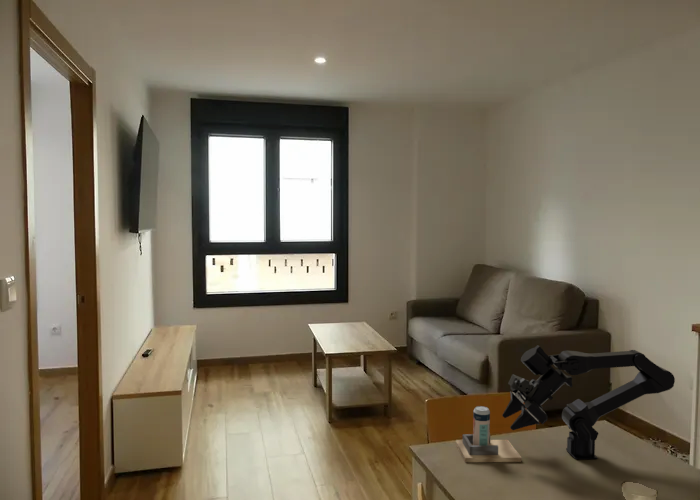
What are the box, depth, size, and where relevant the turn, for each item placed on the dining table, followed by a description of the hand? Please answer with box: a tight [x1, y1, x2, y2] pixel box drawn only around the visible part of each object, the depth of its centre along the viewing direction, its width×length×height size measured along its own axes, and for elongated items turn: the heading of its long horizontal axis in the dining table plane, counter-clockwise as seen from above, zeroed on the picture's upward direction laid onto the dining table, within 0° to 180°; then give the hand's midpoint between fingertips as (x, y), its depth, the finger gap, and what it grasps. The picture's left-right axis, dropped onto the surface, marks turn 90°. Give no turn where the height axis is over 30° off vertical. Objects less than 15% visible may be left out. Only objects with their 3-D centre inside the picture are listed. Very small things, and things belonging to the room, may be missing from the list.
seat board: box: [455, 433, 522, 463], centre depth 151 cm, size 16×12×4 cm
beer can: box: [472, 405, 491, 445], centre depth 151 cm, size 5×5×12 cm
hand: (507, 422), depth 151 cm, fingers open, 9 cm apart
